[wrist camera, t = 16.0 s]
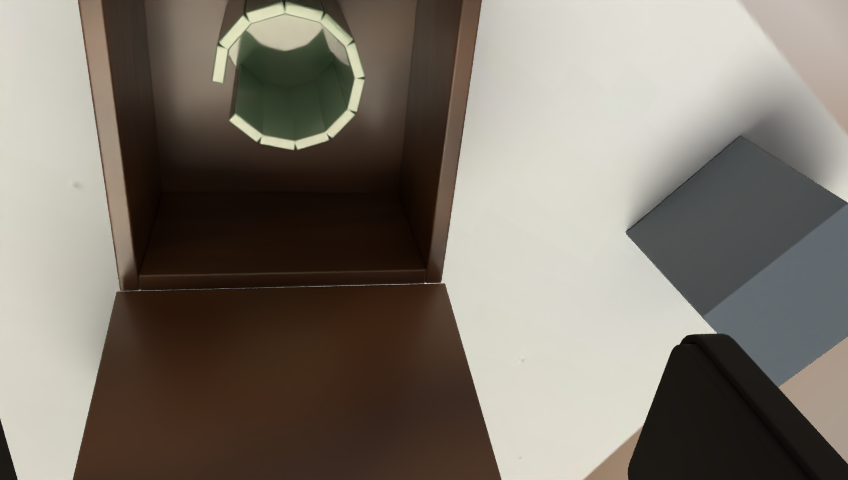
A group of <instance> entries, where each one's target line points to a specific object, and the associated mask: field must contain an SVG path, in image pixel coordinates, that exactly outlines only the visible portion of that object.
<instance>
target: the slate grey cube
mask: <svg viewBox="0 0 848 480" xmlns="http://www.w3.org/2000/svg"><path fill="white" fill-rule="evenodd" d="M626 234H627V235H628V236H629V237H630V239H631V240H632V241H633V242H634V243H635V244H636V245H637V246H638V247H639V248H640V250H641V251H642V252H643V253H644V254H645V255H646V256H647V257H648V258H649V259H650V261H651V262H652V263H653V264H654V265H655V266H656V267H657V268H658V269H659V270H660V271H661V273H662V274H663V275H664V276H665V277H666V278H667V279H668V280H669V281H670V282H671V284H672V285H673V286H674V287H675V288H676V289H677V290H678V291H679V292H680V293H681V295H682V296H683V297H684V298H685V299H686V300H687V301H688V302H689V303H690V304H691V305H692V307H693V308H694V309H695V310H696V311H697V312H698V313H699V314H700V315H701V316H702V318H703V319H704V320H705V321H706V322H707V323H708V324H709V325H710V326H711V327H712V328H713V329H714V330H715V331H716V332H717V334H721V333H723V334H727V335H729V336H730V337H732V338H733V339H734V340H735V341H736V342H737V343H738V344H739V345H740V347H741V348H742V349H743V350H744V351H745V352H746V353H747V354H748V355H749V356H750V357H751V359H752V360H753V361H754V362H755V363H756V364H757V365H758V366H759V367H760V368H761V370H762V371H763V372H764V373H765V374H766V375H767V376H768V377H769V378H770V379H771V380H772V382H773V383H774V384H775V385H776V386H777V387H779V386H780V385H782V384H783V383H784V382H786V381H787V380H789V379H790V378H791V377H793V376H794V375H795V374H797V373H798V372H800V371H801V370H802V369H804V368H805V367H806V366H808V365H809V364H811V363H812V362H813V361H814V360H816V359H817V358H819V357H820V356H821V355H823V354H824V353H826V352H827V351H828V350H830V349H831V348H832V347H834V346H835V345H837V344H838V343H839V342H841V341H842V340H843V339H845V338H846V337H848V203H847V202H846V201H844V200H843V199H841V198H839V197H838V196H836V195H835V194H833V193H831V192H830V191H828V190H827V189H825V188H823V187H822V186H820V185H819V184H817V183H815V182H814V181H812V180H811V179H809V178H807V177H806V176H804V175H803V174H801V173H799V172H798V171H796V170H795V169H793V168H791V167H790V166H788V165H787V164H785V163H783V162H782V161H780V160H779V159H777V158H775V157H774V156H772V155H771V154H769V153H767V152H766V151H764V150H763V149H761V148H759V147H758V146H756V145H755V144H753V143H751V142H750V141H748V140H747V139H745V138H743V137H742V136H740V137H739V138H737V139H736V140H735V141H734V142H733V143H731V144H730V145H729V146H728V147H727V148H726V149H724V150H723V151H722V152H721V153H720V154H718V155H717V156H716V157H715V158H714V159H713V160H711V161H710V162H709V163H708V164H707V165H705V166H704V167H703V168H702V169H701V170H700V171H698V172H697V173H696V174H695V175H694V176H692V177H691V178H690V179H689V180H688V181H687V182H685V183H684V184H683V185H682V186H681V187H680V188H678V189H677V190H676V191H675V192H674V193H672V194H671V195H670V196H669V197H668V198H667V199H665V200H664V201H663V202H662V203H661V204H659V205H658V206H657V207H656V208H655V209H654V210H652V211H651V212H650V213H649V214H648V215H646V216H645V217H644V218H643V219H642V220H641V221H639V222H638V223H637V224H636V225H635V226H633V227H632V228H631V229H630V230H629V231H628V232H626Z"/></svg>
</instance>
